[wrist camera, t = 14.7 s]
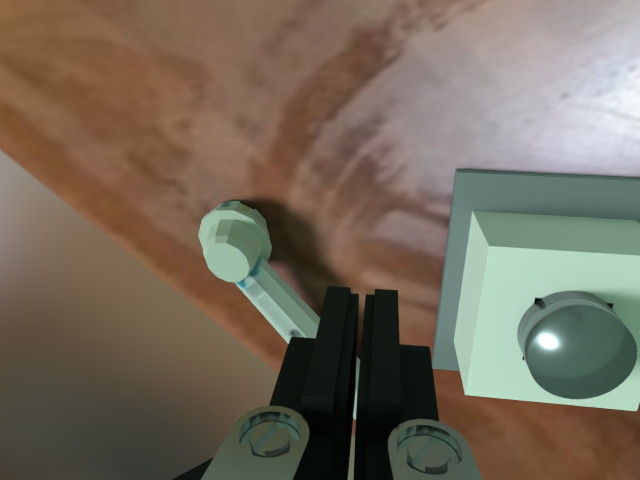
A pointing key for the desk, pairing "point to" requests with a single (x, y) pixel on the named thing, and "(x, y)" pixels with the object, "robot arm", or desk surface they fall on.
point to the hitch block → (533, 272)
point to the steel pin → (576, 345)
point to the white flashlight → (255, 270)
